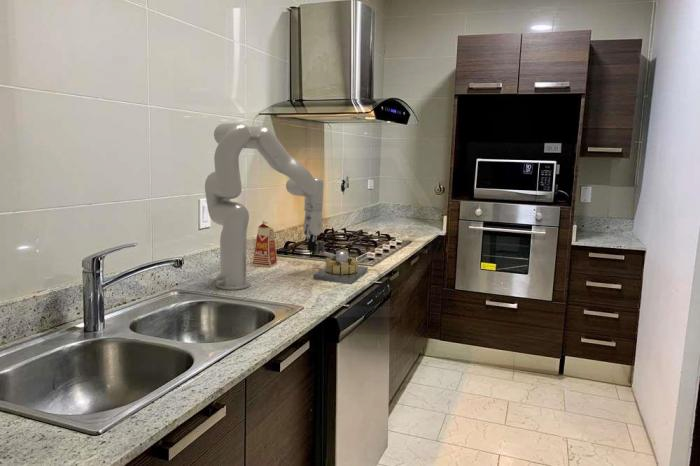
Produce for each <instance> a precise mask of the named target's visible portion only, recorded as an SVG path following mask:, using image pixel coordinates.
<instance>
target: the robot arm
mask: <svg viewBox="0 0 700 466" xmlns="http://www.w3.org/2000/svg"><path fill="white" fill-rule="evenodd" d="M213 137H214V140H215V142H216V143H217V146H216V148H215V151H214V157H213V160H214V171H212V172H211V173H209V175H208V176H207V177H206V179H205V182H204V191H205V192H204V193H205V200H206V206H207V211H208V216H209V218H210V219H211V221H212V222H214V223H215V224H216V225H219V226H222V230H221V232H220V238H219V239H220V240H219V241H220V242H219V243H220V244H219V245H220V246H219V247H220V248H219V253H220V254H219V255H220V257H219V258H220V259H219V263H220V264H219V265H220V266H219V267H220V273H219V274H217V276H215V277H214V278H209V279H208V284H209V285H213V284H216V285H215V286H216V287H217V289H221V290H227V291H228V290H231V291H232V290H235V291H236V290H243V289H247V288H249V287H251V281H250V280H248V279H247V233H248V227H249V221H250V213H249V211H248V209H247V207H246V206H245V205H244V204H241V203H240V202H236V201H231V200H232V199H233V200H234V199H236V198H238V197H239V196H240V195H241V194H242V189H243V188H242V187H243V186H242V179H241V172H240V163H239V161H240V159H239V158H240V154H241V152H242V150H243V149H252V150H253V149H255V150H257V151H258V152H259V154H260V155H261V156H262V157H263V159H264V160H265V161H266V162H267V164H268V165H269V166H270V168H271V169H272V170H274V171H276V172H278V173H280V174H282V175H284V176H286V177H288V178H289V179H288V180H287V181H286V183H285V189H286V191H287V192H288V193H289V194H290V195H293V196H298V197H304V207H303V209H304V210H303V211H304V220H303V234H304V235H305V238H306V241H307V247H306V248H307V251H308V252H317V241H318V240H317V238H318V235H320V234H322V232H323V204H324V201H323V200H324V180H323V178H320V177H314V176H313V175H312V174H311V172H310V171H309V170H308V169H307V167H305V165H303V164H302V163H301V162H299V161H298V160H297V159H296V158H295V157H293V156H291V155H290V154H289V152H288V151H287V150H286V149H285V147H284V146H283V145H282V143H281V141H280V140H279V139H278V138H277V137H276V135H275V134H274V133H273V130H271V129H270V128H269V127H266V126H247V125H246V124H244V123H239V122H230V123H229V122H227V123H226V122H224V123H220V124H218V125H217V126H216V127H215V129H214V132H213Z"/></svg>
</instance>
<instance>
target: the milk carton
mask: <svg viewBox="0 0 700 466" xmlns="http://www.w3.org/2000/svg"><path fill="white" fill-rule="evenodd" d="M277 255H278V254H277V246H276V239H275V231H274V228H273V227H272V226H271V225H269V222H268V221H265V220H262V224H260V225H259V226H258V228H257V233H256V238H255V246H254V251H253V257H252V262H251V266H252V267H260V268H273V267H274V266H276V265H277V264H278V258H277Z"/></svg>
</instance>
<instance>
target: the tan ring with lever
mask: <svg viewBox="0 0 700 466" xmlns="http://www.w3.org/2000/svg"><path fill="white" fill-rule="evenodd" d="M316 254H318V255H321V256H325V257H326V258H325V264H324V265H325V266H324V268H325V270H326V271H327V272H330V273H335V274H352V273H356V272H357V271H358V266H359V260H357V258H356V257H348V262H340V265H336V253H335V254H334V253H331V252H328V251H325V241H324V240H316Z"/></svg>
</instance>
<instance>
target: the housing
mask: <svg viewBox="0 0 700 466" xmlns="http://www.w3.org/2000/svg"><path fill="white" fill-rule="evenodd" d="M335 255H336V265H340V262H348V258H349V251H346V250H336V252H335ZM368 269H369V267H367V266H361V265H360V266H359V265H358V271H357V272H356V273H352V274H335V273H330V272H327V271H326V270H325V267H324V268H322V270H319V271H317V272H314V273H313V274H312V275H313V278H312V279H313V280H317V281H324V282H332V283H340V284H346V285H347V284H348V285H352V284H353V283H354V282H356V281H357V280H359V279H360V278H361V277H363V276H364V275H365V274H367V273H368V271H369V270H368Z"/></svg>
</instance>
